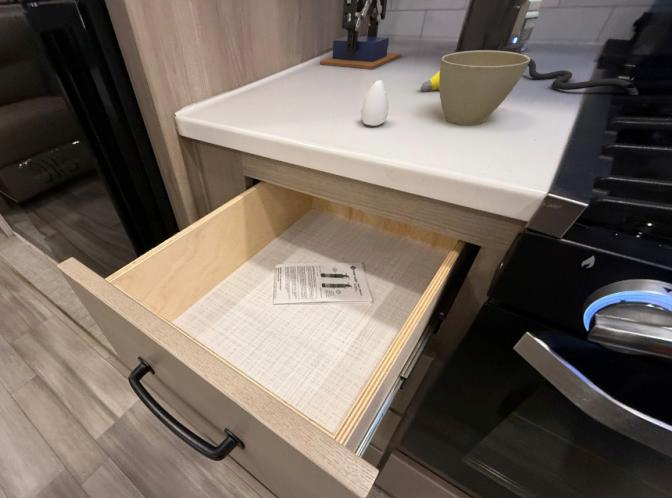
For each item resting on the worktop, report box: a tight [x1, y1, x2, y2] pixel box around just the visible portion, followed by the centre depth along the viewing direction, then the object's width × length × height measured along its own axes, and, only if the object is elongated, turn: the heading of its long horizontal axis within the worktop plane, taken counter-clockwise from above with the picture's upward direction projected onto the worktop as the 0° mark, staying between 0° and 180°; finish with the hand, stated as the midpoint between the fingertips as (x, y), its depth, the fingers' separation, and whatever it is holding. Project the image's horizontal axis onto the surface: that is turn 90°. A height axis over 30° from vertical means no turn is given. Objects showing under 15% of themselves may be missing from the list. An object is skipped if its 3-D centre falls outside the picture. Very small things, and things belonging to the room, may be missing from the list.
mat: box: [319, 52, 402, 70], centre depth 76 cm, size 14×13×1 cm
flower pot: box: [439, 50, 531, 126], centre depth 43 cm, size 10×10×7 cm
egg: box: [360, 79, 390, 127], centre depth 45 cm, size 4×4×6 cm
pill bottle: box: [516, 0, 543, 53], centre depth 69 cm, size 5×5×8 cm
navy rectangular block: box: [331, 35, 390, 62], centre depth 75 cm, size 11×6×4 cm, turn 49°
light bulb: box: [420, 69, 440, 93], centre depth 55 cm, size 3×6×4 cm, turn 95°
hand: (361, 49), depth 75 cm, fingers open, 8 cm apart
